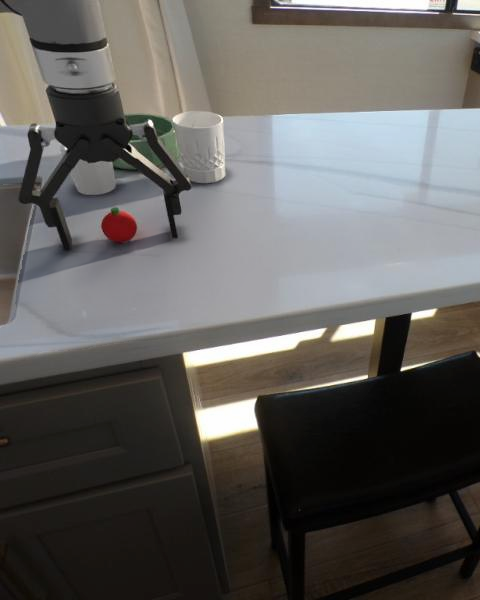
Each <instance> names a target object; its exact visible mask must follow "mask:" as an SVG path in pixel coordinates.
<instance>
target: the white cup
mask: <svg viewBox="0 0 480 600" xmlns="http://www.w3.org/2000/svg"><path fill="white" fill-rule="evenodd" d="M171 120H172V122H173V126H174V131H175V135H176V140H177V144H178V149H179V153H180V155H179V157H180V161H181V163H182V166H183V167H182V168H183V170H184V171H185V173H186V174H187V175H188V177H189V178H190V182H193V183H197V184H211V183H216V182H219V181H221V180H223V179H224V178H225V177H226V162H225V161H226V150H225V146H226V145H225V132H224V131H225V130H224V118H223V117H222V116H221V115H219V114H218V113H215V112H211V111H205V110H192V111H191V110H190V111H184V112H181V113H178V114H176V115H174V116H173V117H172V119H171Z"/></svg>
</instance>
